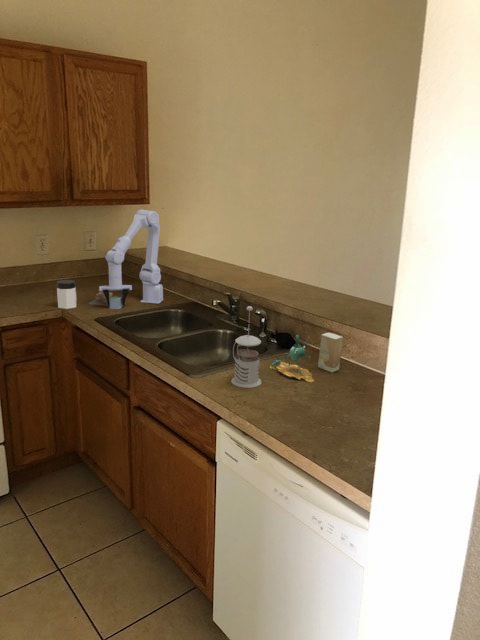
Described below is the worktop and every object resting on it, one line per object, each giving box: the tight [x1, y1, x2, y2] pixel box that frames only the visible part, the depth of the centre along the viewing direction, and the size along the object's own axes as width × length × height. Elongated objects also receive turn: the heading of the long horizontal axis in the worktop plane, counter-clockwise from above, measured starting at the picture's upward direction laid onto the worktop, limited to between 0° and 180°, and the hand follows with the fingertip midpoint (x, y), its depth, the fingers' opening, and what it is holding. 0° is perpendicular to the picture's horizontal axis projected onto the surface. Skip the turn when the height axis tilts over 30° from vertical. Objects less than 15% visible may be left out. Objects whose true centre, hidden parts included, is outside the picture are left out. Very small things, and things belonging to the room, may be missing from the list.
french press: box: [230, 305, 262, 389], centre depth 165 cm, size 10×12×25 cm
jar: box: [56, 279, 77, 310], centre depth 241 cm, size 9×8×12 cm
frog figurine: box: [269, 334, 315, 383], centre depth 174 cm, size 10×18×15 cm, turn 41°
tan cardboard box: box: [95, 298, 110, 304], centre depth 252 cm, size 6×6×2 cm
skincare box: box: [317, 332, 344, 373], centre depth 180 cm, size 6×4×12 cm
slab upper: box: [95, 291, 114, 300], centre depth 251 cm, size 6×6×2 cm
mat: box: [87, 298, 109, 307], centre depth 252 cm, size 12×12×1 cm
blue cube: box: [109, 296, 124, 310], centre depth 243 cm, size 4×4×5 cm
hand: (116, 305), depth 243 cm, fingers closed on blue cube, 6 cm apart
